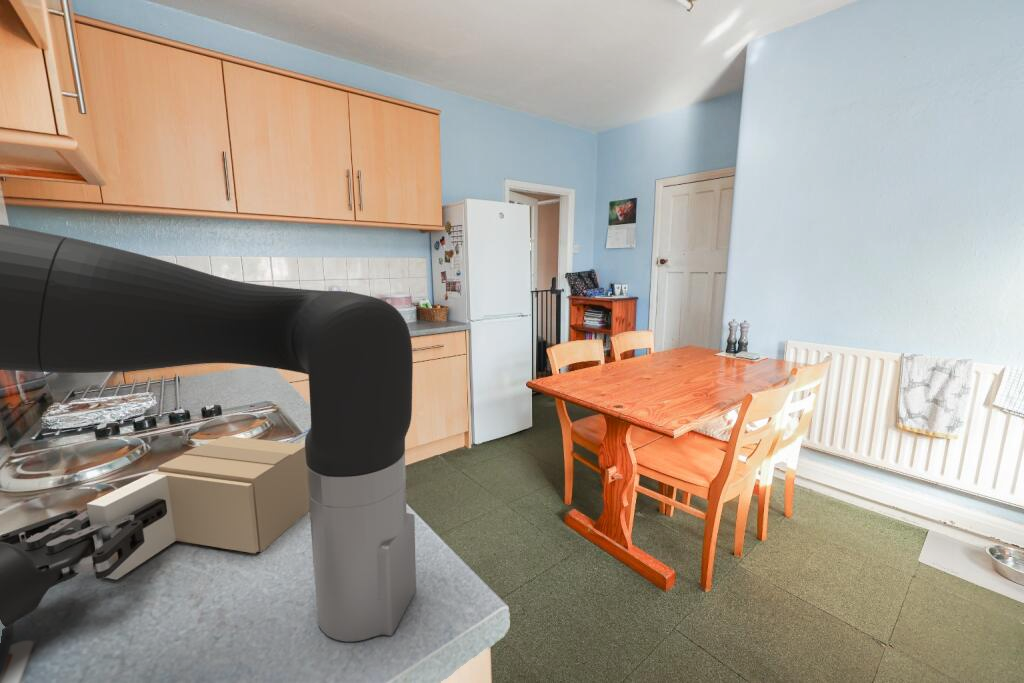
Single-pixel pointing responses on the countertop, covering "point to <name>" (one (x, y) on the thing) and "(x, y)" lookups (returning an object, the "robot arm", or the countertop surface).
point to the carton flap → (182, 514)
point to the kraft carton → (255, 477)
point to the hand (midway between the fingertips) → (148, 503)
